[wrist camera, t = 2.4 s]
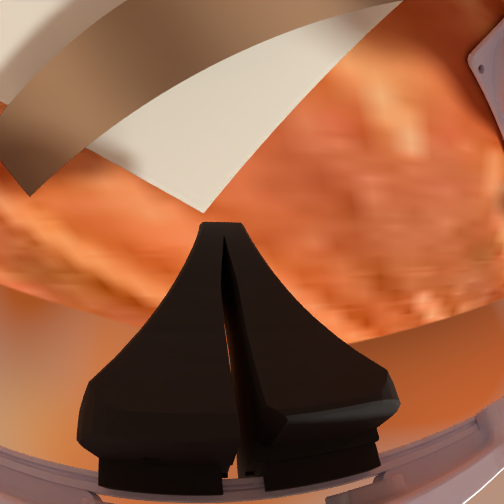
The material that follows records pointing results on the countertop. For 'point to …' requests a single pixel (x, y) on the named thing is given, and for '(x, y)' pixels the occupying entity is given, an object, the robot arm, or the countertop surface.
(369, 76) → the countertop surface
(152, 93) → the hinged leg
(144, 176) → the white block puzzle board
